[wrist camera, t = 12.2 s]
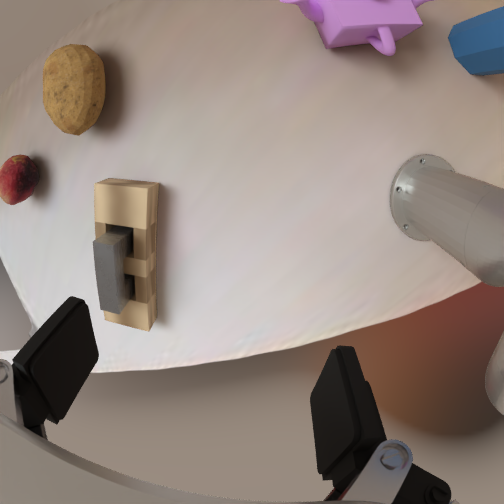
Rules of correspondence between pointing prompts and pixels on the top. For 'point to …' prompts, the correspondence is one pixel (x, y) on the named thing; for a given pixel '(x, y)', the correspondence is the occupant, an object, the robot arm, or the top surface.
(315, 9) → the teapot
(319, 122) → the top surface
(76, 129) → the potato
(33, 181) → the fruit
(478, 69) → the water bottle
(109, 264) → the gray pronged block
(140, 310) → the wooden block with holes
